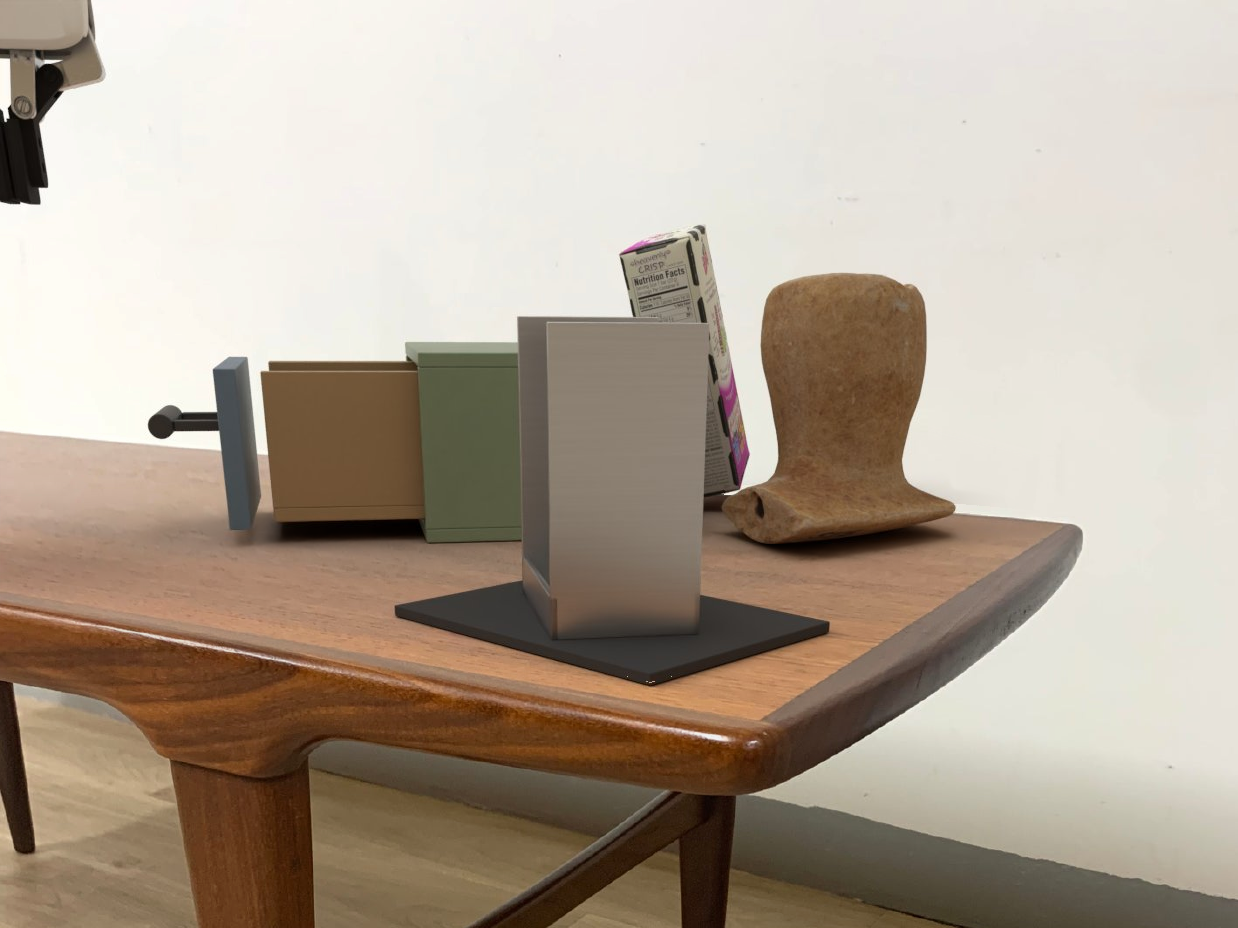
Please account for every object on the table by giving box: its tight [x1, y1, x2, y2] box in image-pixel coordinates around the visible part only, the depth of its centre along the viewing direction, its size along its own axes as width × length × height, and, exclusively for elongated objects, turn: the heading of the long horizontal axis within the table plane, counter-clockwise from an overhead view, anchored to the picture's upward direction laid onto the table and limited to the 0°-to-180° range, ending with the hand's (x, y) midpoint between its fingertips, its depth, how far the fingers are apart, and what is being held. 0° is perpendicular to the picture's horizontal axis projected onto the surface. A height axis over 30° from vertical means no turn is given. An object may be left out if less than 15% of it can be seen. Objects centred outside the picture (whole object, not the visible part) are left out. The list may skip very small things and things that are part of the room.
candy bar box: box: [618, 223, 751, 499], centre depth 89 cm, size 11×5×16 cm, turn 172°
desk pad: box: [394, 579, 831, 686], centre depth 59 cm, size 16×12×1 cm
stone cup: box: [721, 272, 957, 545], centre depth 78 cm, size 15×12×15 cm
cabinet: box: [404, 341, 522, 544], centre depth 82 cm, size 16×14×11 cm
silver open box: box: [516, 315, 709, 640], centre depth 56 cm, size 6×9×12 cm
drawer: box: [147, 356, 425, 531], centre depth 80 cm, size 19×12×9 cm, turn 102°
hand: (20, 202), depth 72 cm, fingers closed
